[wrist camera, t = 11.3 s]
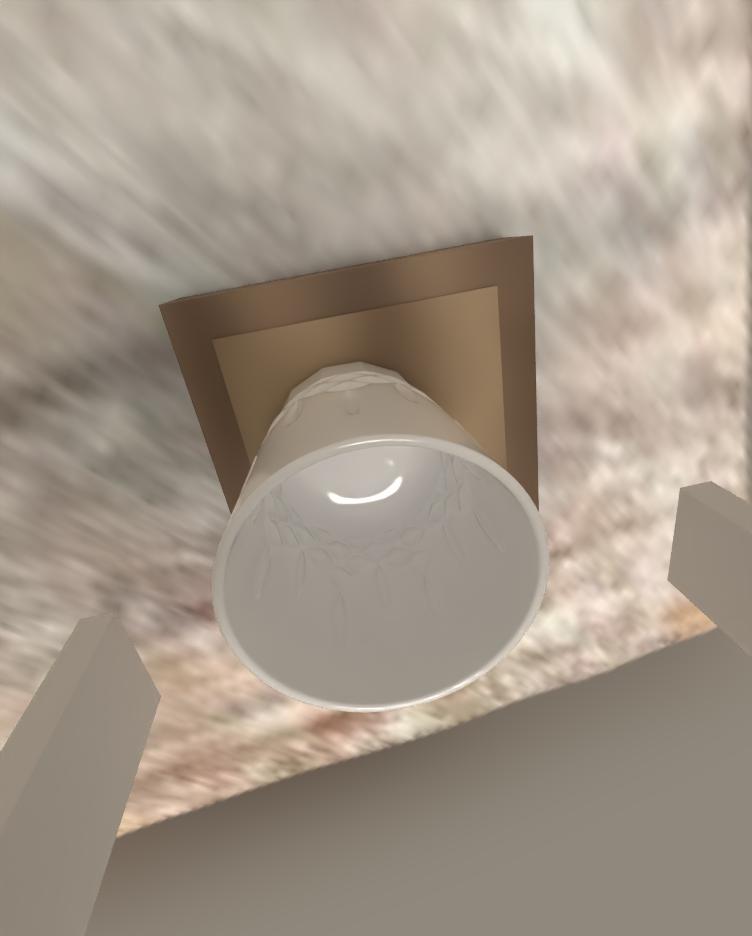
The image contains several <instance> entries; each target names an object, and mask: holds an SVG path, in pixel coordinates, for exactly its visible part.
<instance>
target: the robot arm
mask: <svg viewBox="0 0 752 936" xmlns="http://www.w3.org/2000/svg"><path fill="white" fill-rule="evenodd" d="M668 581H669V582H670V583H671V584H672V585H673V586H675V587H676V588H677V589H678V590H679V591H680V592H681V593H682V594H683V595H684V596H685V597H687V598H688V599H689V600H690V601H691V602H692V603H693V604H694V605H695V606H696V607H697V608H698V609H700V610H701V611H702V612H703V613H704V614H705V615H706V616H707V617H708V618H709V619H710V620H711V621H713V622H714V623H715V624H716V625H717V626H718V627H719V628H720V629H721V630H723V632H725V633H726V634H727V635H728V636H729V637H730V638H731V639H732V640H733V641H734V642H735V643H736V644H738V645H739V646H740V647H741V648H742V649H743V650H744V651H746V653H747V654H748V655H750V656H751V657H752V505H751V504H750V503H748V502H746V501H744V500H743V499H741V498H739V497H737V496H736V495H734V494H732V493H731V492H729V491H727V490H725V489H724V488H722V487H720V486H718V485H717V484H715V483H713V482H712V481H710V482H705V483H701V484H696V485H691V486H687V487H682V488H680V493H679V500H678V508H677V515H676V522H675V530H674V537H673V544H672V552H671V559H670V566H669V574H668ZM160 697H161V696H160V694H159V692H158V690H157V688H156V686H155V684H154V683H153V681H152V679H151V677H150V675H149V673H148V671H147V670H146V668H145V666H144V664H143V662H142V660H141V658H140V656H139V655H138V653H137V651H136V649H135V647H134V645H133V643H132V642H131V640H130V638H129V636H128V634H127V632H126V630H125V629H124V627H123V625H122V623H121V621H120V619H119V617H118V615H117V614H116V612H112V613H107V614H103V615H98V616H93V617H89V618H84V619H80V621H79V622H78V624H77V626H76V627H75V629H74V631H73V632H72V634H71V636H70V637H69V639H68V641H67V642H66V644H65V646H64V647H63V649H62V651H61V652H60V654H59V656H58V657H57V659H56V661H55V662H54V664H53V666H52V667H51V669H50V671H49V672H48V674H47V676H46V677H45V679H44V681H43V682H42V684H41V685H40V687H39V689H38V690H37V692H36V694H35V695H34V697H33V699H32V700H31V702H30V704H29V705H28V707H27V709H26V710H25V712H24V714H23V715H22V717H21V719H20V720H19V722H18V724H17V725H16V727H15V729H14V730H13V732H12V734H11V735H10V737H9V739H8V740H7V742H6V744H5V745H4V747H3V749H2V750H1V752H0V936H84V935H85V931H86V928H87V925H88V922H89V919H90V915H91V913H92V910H93V906H94V903H95V900H96V897H97V894H98V891H99V887H100V885H101V881H102V878H103V875H104V872H105V869H106V866H107V863H108V860H109V856H110V853H111V850H112V847H113V844H114V841H115V838H116V835H117V832H118V828H119V825H120V822H121V819H122V816H123V813H124V810H125V807H126V803H127V800H128V797H129V794H130V791H131V788H132V785H133V782H134V778H135V775H136V772H137V769H138V766H139V763H140V760H141V757H142V753H143V750H144V747H145V744H146V741H147V738H148V735H149V732H150V728H151V725H152V722H153V719H154V716H155V713H156V710H157V707H158V703H159V700H160Z"/></svg>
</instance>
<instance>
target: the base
mask: <svg viewBox="0 0 752 936" xmlns="http://www.w3.org/2000/svg"><path fill="white" fill-rule="evenodd" d="M159 308H160V311H161V314H162V316H163V319H164V322H165V325H166V328H167V331H168V334H169V337H170V339H171V342H172V345H173V348H174V351H175V354H176V357H177V360H178V363H179V365H180V368H181V371H182V374H183V377H184V380H185V383H186V386H187V388H188V391H189V394H190V397H191V400H192V403H193V406H194V409H195V411H196V414H197V417H198V420H199V423H200V426H201V429H202V432H203V435H204V437H205V440H206V443H207V446H208V449H209V452H210V455H211V458H212V460H213V463H214V466H215V469H216V472H217V475H218V478H219V481H220V483H221V486H222V489H223V492H224V495H225V498H226V501H227V504H228V507H229V509H230V512H231V515H232V512H233V510H234V507H235V505H236V503H237V500H238V498H239V495H240V493H241V490H242V488H243V485H244V483H245V480H246V478H247V475H248V473H249V470H250V468H251V466H252V463H253V461H254V458H255V456H256V455H257V453H258V451H259V449H260V447H261V445H262V442H263V440H264V438H265V436H266V435H267V432H268V430H269V428H270V426H271V424H272V422H273V421H274V419H275V418H276V417H277V416H278V415H279V413H280V411H281V409H282V407H283V405H284V403H285V401H286V399H287V397H288V396H289V394H290V392H291V390H292V389H294V388H295V387H296V386H298V385H299V384H300V383H302V382H303V381H305V380H306V379H307V378H309V377H310V376H312V375H313V374H314V373H316V372H317V371H319V370H320V369H321V368H324V367H330V366H335V365H341V364H347V363H353V362H359V361H362V362H365V363H369V364H372V365H376V366H379V367H382V368H386V369H389V370H393V371H396V372H398V373H399V374H400V375H401V376H402V377H403V378H404V379H405V380H407V381H408V382H409V383H410V384H411V385H412V386H413V387H415V388H417V389H418V390H420V391H422V392H423V393H425V394H426V395H427V396H428V397H430V398H431V399H432V400H433V401H434V402H435V403H436V404H438V405H439V406H440V407H441V408H442V409H443V410H444V411H445V412H447V413H448V414H449V415H450V416H451V417H453V418H454V419H455V420H456V421H457V422H458V423H459V424H460V425H461V426H462V427H463V428H464V429H465V430H466V432H467V433H468V434H469V435H470V436H471V437H472V438H473V439H474V440H475V441H476V442H477V443H478V444H479V445H480V446H482V447H483V448H484V449H485V450H486V451H487V452H488V453H489V454H490V455H491V456H492V457H493V458H494V459H495V460H496V461H497V462H498V463H499V464H500V465H501V466H502V467H503V468H504V469H505V470H506V471H507V472H508V473H510V474H511V475H512V476H513V477H514V478H515V479H516V480H517V481H518V482H519V484H520V485H521V486H522V487H523V488H524V489H525V491H526V492H527V493H528V495H529V496H530V498H531V499H532V501H533V502H534V504H535V506H536V508H537V510H538V512H539V501H538V455H537V408H536V362H535V315H534V268H533V236H521V237H507V238H500V239H495V240H489V241H484V242H479V243H473V244H468V245H462V246H457V247H452V248H446V249H441V250H436V251H430V252H425V253H419V254H414V255H409V256H403V257H398V258H393V259H387V260H382V261H377V262H371V263H366V264H360V265H355V266H350V267H344V268H339V269H334V270H328V271H323V272H318V273H312V274H307V275H301V276H296V277H291V278H285V279H280V280H275V281H269V282H264V283H258V284H253V285H248V286H242V287H237V288H232V289H226V290H221V291H216V292H210V293H205V294H199V295H194V296H189V297H183V298H179V299H176V300H173V301H170V302H167V303H164V304H161V305H159Z"/></svg>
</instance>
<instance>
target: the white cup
mask: <svg viewBox="0 0 752 936" xmlns="http://www.w3.org/2000/svg"><path fill="white" fill-rule="evenodd" d="M549 565H550V555H549V545H548V539H547V534H546V530H545V527H544V524H543V521H542V518H541V516H540V514H539V512H538V510H537V508H536V506H535V504H534V502H533V501H532V499H531V498H530V496H529V495H528V493H527V492H526V491H525V489H524V488H523V487H522V486H521V485H520V484H519V482H518V481H517V480H516V479H515V478H514V477H513V476H512V475H511V474H510V473H508V472H507V471H506V470H505V469H504V468H503V467H502V466H501V465H500V464H499V463H498V462H497V461H496V460H495V459H494V458H493V457H492V456H491V455H490V454H489V453H488V452H487V451H486V450H485V449H484V448H483V447H482V446H480V445H479V444H478V443H477V442H476V441H475V440H474V439H473V438H472V437H471V436H470V435H469V434H468V433H467V432H466V430H465V429H464V428H463V427H462V426H461V425H460V424H459V423H458V422H457V421H456V420H455V419H454V418H453V417H451V416H450V415H449V414H448V413H447V412H445V411H444V410H443V409H442V408H441V407H440V406H439V405H438V404H436V403H435V402H434V401H433V400H432V399H431V398H430V397H428V396H427V395H426V394H425V393H423V392H422V391H420V390H418V389H417V388H415V387H413V386H412V385H411V384H410V383H409V382H408V381H407V380H405V379H404V378H403V377H402V376H401V375H400V374H399V373H398V372H396V371H393V370H389V369H386V368H382V367H379V366H376V365H372V364H369V363H365V362H362V361H359V362H353V363H347V364H341V365H335V366H330V367H324V368H321V369H320V370H319V371H317V372H316V373H314V374H313V375H312V376H310V377H309V378H307V379H306V380H305V381H303V382H302V383H300V384H299V385H298V386H296V387H295V388H294V389H292V390H291V392H290V394H289V396H288V397H287V399H286V401H285V403H284V405H283V407H282V409H281V411H280V413H279V415H278V416H277V417H276V418H275V419H274V421H273V422H272V424H271V426H270V428H269V430H268V432H267V435H266V436H265V438H264V440H263V442H262V445H261V447H260V449H259V451H258V453H257V455H256V456H255V458H254V461H253V463H252V466H251V468H250V470H249V473H248V475H247V478H246V480H245V483H244V485H243V488H242V490H241V493H240V495H239V498H238V500H237V503H236V505H235V507H234V510H233V512H232V515H231V517H230V519H229V522H228V524H227V526H226V529H225V531H224V533H223V536H222V538H221V540H220V543H219V546H218V549H217V552H216V555H215V559H214V564H213V570H212V579H211V593H212V603H213V608H214V613H215V617H216V620H217V623H218V626H219V628H220V631H221V633H222V635H223V637H224V639H225V641H226V643H227V644H228V646H229V647H230V649H231V650H232V652H233V653H234V655H235V656H236V657H237V658H238V660H239V661H240V662H241V663H242V664H243V665H244V666H245V667H246V668H247V669H248V670H249V671H250V672H251V673H252V674H253V675H255V676H256V677H257V678H258V679H260V680H261V681H262V682H264V683H265V684H267V685H268V686H270V687H271V688H273V689H275V690H276V691H278V692H280V693H282V694H284V695H286V696H288V697H291V698H293V699H295V700H298V701H301V702H304V703H307V704H310V705H313V706H317V707H321V708H326V709H332V710H338V711H348V712H381V711H391V710H398V709H403V708H408V707H413V706H417V705H420V704H424V703H427V702H430V701H433V700H436V699H439V698H441V697H444V696H446V695H449V694H451V693H453V692H455V691H457V690H459V689H461V688H463V687H465V686H467V685H468V684H470V683H472V682H473V681H475V680H477V679H478V678H480V677H481V676H483V675H484V674H485V673H487V672H488V671H489V670H491V669H492V668H493V667H495V666H496V665H497V664H498V663H499V662H500V661H501V660H503V659H504V658H505V657H506V656H507V655H508V654H509V653H510V652H511V650H512V649H513V648H514V647H515V646H516V645H517V644H518V642H519V641H520V640H521V639H522V637H523V636H524V635H525V633H526V632H527V630H528V629H529V627H530V625H531V624H532V622H533V620H534V618H535V616H536V614H537V612H538V610H539V608H540V605H541V603H542V600H543V597H544V594H545V590H546V586H547V582H548V576H549Z"/></svg>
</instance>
